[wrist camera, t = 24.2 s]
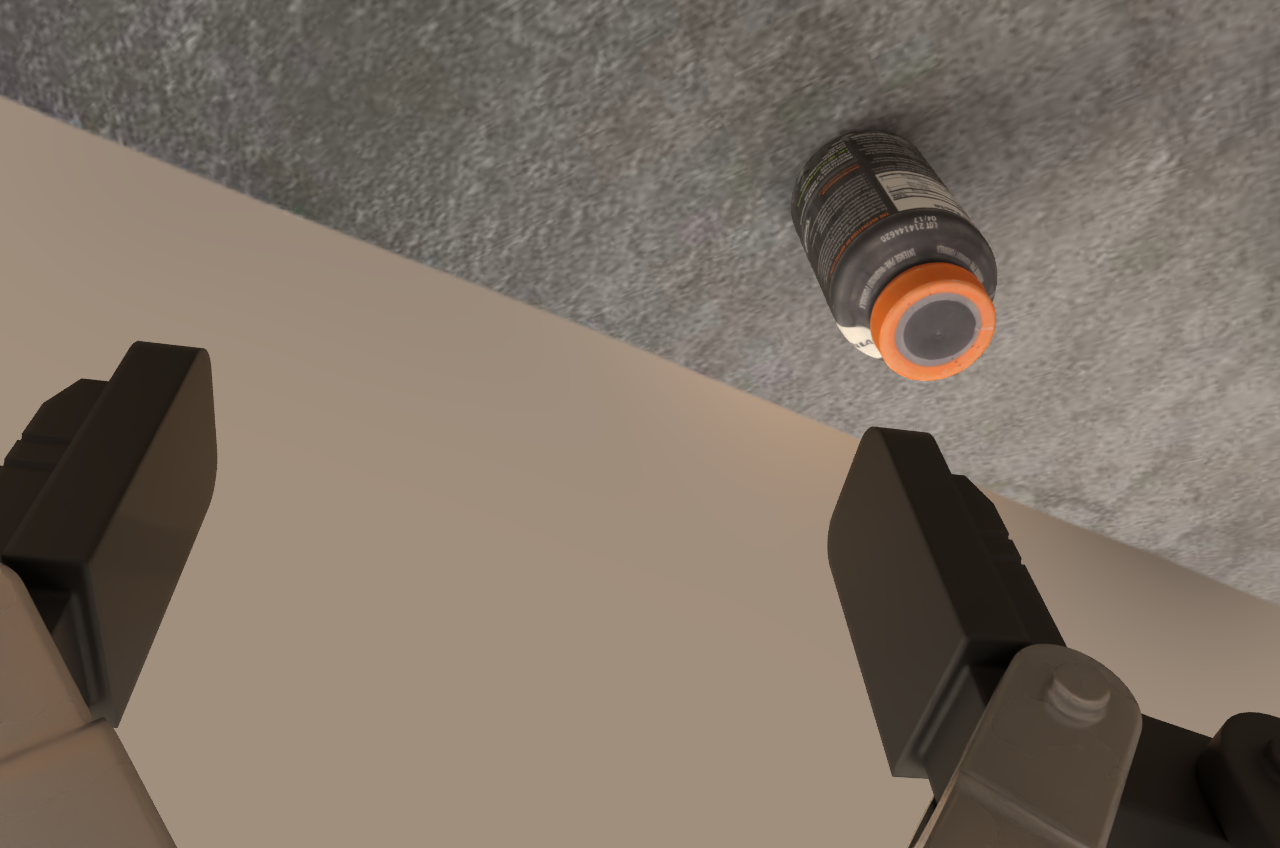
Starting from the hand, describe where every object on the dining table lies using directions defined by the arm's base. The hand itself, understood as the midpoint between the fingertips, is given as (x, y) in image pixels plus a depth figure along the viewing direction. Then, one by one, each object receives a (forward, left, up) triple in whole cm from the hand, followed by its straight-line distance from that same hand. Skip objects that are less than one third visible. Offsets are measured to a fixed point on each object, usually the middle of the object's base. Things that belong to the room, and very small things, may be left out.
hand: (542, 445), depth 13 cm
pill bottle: (+14, -8, -30) cm, 34 cm away
